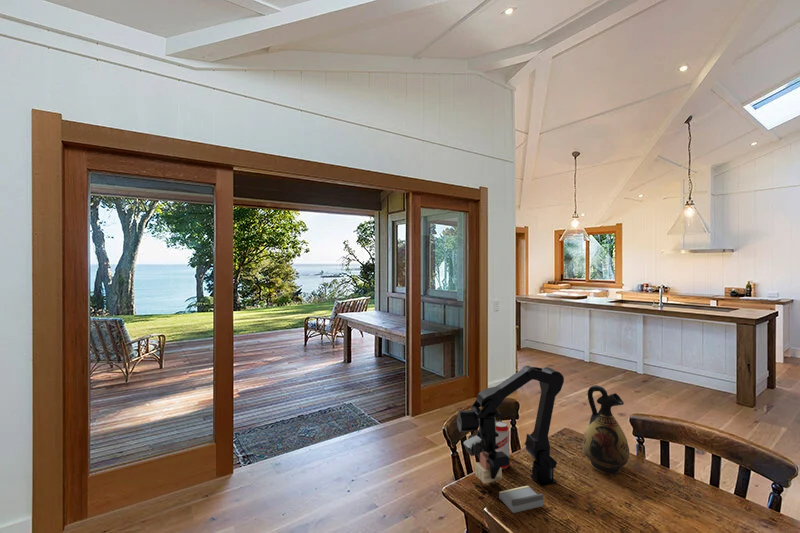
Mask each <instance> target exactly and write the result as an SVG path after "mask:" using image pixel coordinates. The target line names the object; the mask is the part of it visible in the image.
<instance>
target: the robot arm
mask: <svg viewBox="0 0 800 533" xmlns="http://www.w3.org/2000/svg"><path fill="white" fill-rule="evenodd" d="M533 380H534V381H538V383H539V387H540V388H539V389H540V396H539V401H538V402H539V403H538V408H537V411H536V418H535V423H534V428H533V431H532V432H531V433H530V434H529V433H526V435H525V436H526V438H525V442H524V445H525V449H526V451H527V453H528V454H529V456H531V458H532V459H533V460H534V461H533V460H532V467H531V473H532V474H530V478H531V479H533V480H534V481H535V482H536V483H538V484H539V485H540V486H541V487H543V486H548V485H552V484H557V482H558V481H557V480H556V479H555V478H554V477H555V476H554V469H556V467H557V464H558V462H557V460H555V458H553V457H552V456H551V443H550V441H549V440H550V439H549V433H550V427H551V422H552V418H553V411H554V406H555V400H556V397H557V396H558V394H559V393H560V392H561V391H562V387H563V385H564V381H565V378H564V375H563V374H562V373H561V372H559V371H558V370H556V369H554V368H551V367H550V366H549V367H548V366H547V367H543V368H542V367H538V366H531V365H524V366H523V367H522V369H520V370H519V371H517V372H515V373H514V374H513V375H511V376H509V377H508V378H505V380H503V381H502V382H501V383H499V384H498V385H496V386H492V387H487V388H485V389H483V390H481V391H479V392H478V394H477V395H476V399H475V401H474V402H473V404H472V405H471V406H470V410H468V409H467V410H463V409H462V410H461V409H460V410H458V414H457V417H456V425H457V428H458V432H462V433H463V432H473V431H475V433H474V434H470V435H469V436H468V438H467V439H466V440H464V441H463V446H464V448H465V451H466V453H468V454H469V456H471V457H475V456H478V459H479V461H480V453H481V452H483V451H484V452H486V453H489V454H490V455H489V456H488V460H486V462H487V463H488V464H489V465H490V473H491V478H492V479H495V477H496V475H497V473H498V471H499V469H500V467H502V466H507V465H509V466H511V465H510V464H511V458H510V456H509V457H508V456H507V455H506V454H505V453H503V452H502V451H500V452H496V451H495V449H498V448H499V445H497V444H496V437H498V433H497V432H496V421H497V420H496V418H501V417H502V416H503V415H502V414H501V413H500V412H499V410H498V408H499V407H500V406H502V404H503V402H504V400H505V399H506V398H508V397H509V396H510V395H512V394H514V393H515V392H517V390H519V389H521V388H522V387H523V386H525V385H526V384H528V383H529V382H531V381H533Z"/></svg>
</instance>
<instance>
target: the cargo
mask: <svg viewBox="0 0 800 533" xmlns="http://www.w3.org/2000/svg"><path fill="white" fill-rule="evenodd" d="M489 455H490V454H489V453H486V452H484V451H483V452H481V453H480V460H479V462H480V464H481V465H482V466H483V467H484V468H485V469H490V465H489V464H488V463H487V462H486V460H488V456H489Z"/></svg>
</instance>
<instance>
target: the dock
mask: <svg viewBox="0 0 800 533" xmlns="http://www.w3.org/2000/svg"><path fill="white" fill-rule="evenodd" d="M498 498H499V500H500V501H502V503H503V504H505V506H506V507H507V508H508V509H509V511H511V512H512V513H513V514H515V513H520V512H523V511H528V510H532V509H535V508H541V507H543V506H544V494H543V493H536V491H534V490H533V488H531V487H530V486H529V485H524V486H519V487H514V488H509V489H505V490H501V491H498Z"/></svg>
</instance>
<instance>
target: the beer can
mask: <svg viewBox="0 0 800 533" xmlns="http://www.w3.org/2000/svg"><path fill="white" fill-rule="evenodd" d="M509 429H510V428H509V427H508V423H507V422H506V421H503V420H496V432H497V433H498V437H496V444H497V445H499V448H498V449H495V451H496V452H500V451H502V452H503V453H505V454H506V455H507V456H508V457H509V458H510V430H509ZM509 466H510V465H507V466H502V467H501V468H502V470H506V469H507V468H509Z"/></svg>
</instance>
